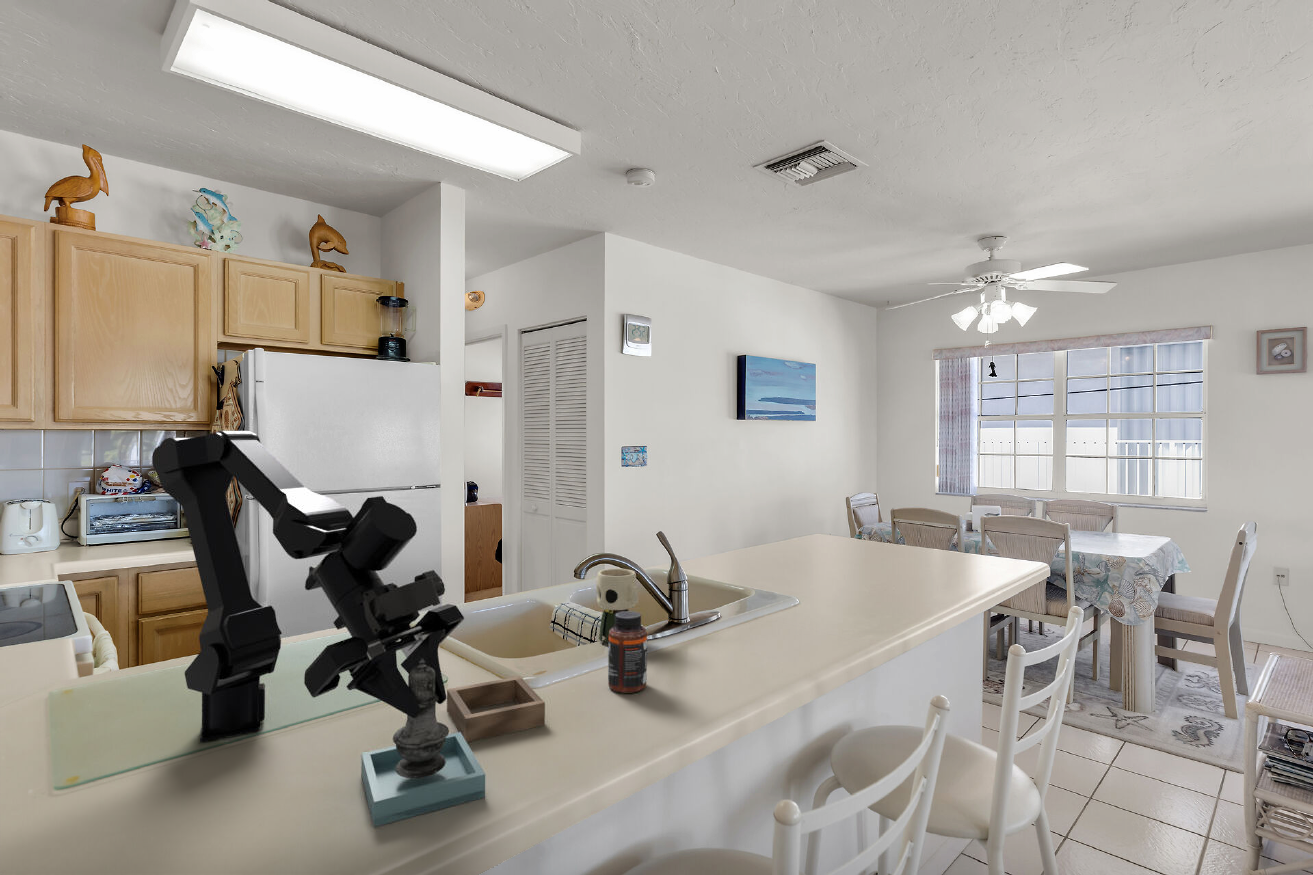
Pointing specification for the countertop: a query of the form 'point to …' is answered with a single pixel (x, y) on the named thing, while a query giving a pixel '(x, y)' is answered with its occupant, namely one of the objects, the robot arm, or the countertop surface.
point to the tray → (420, 782)
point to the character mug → (615, 596)
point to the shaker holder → (499, 719)
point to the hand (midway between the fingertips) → (430, 708)
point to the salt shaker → (421, 729)
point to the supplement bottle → (627, 653)
